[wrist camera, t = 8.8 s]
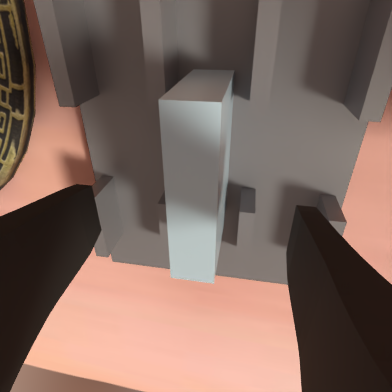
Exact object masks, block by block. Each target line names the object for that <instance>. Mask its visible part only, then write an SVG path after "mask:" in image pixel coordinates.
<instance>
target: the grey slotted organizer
mask: <svg viewBox="0 0 392 392" xmlns="http://www.w3.org/2000/svg"><path fill="white" fill-rule="evenodd" d="M33 1H34V5H35V9H36V13H37V17H38V21H39V25H40V29H41V33H42V37H43V41H44V46H45V50H46V54H47V58H48V62H49V66H50V70H51V74H52V78H53V82H54V86H55V90H56V94H57V98H58V102H59V106H60V107H77V106H79V105H80V110H81V114H82V119H83V124H84V129H85V133H86V138H87V143H88V147H89V152H90V157H91V162H92V166H93V171H94V176H95V181H96V182H95V183H94V184H93V185H92V188H93V193H94V197H95V202H96V206H97V211H98V216H99V220H100V225H101V229H102V231H101V233H100V235H99V237H98V239H97V241H96V243H95V245H94V248H95V252H96V256H102V257H109V255H110V254H111V256H112V261H113V262H121V263H128V264H136V265H143V266H151V267H158V268H166V269H170V258H169V244H168V230H167V215H166V201H165V187H164V173H163V158H162V144H161V130H160V116H159V101H158V100H159V99H160V98H161V97H162V96H163V95H164V94H166V93H167V92H168V91H169V90H170V89H171V88H172V87H174V86H175V85H176V84H177V83H178V82H179V81H181V80H182V79H183V78H184V77H185V76H186V75H188V74H189V73H190V72H191V71H192V70H193V69H199V70H235V76H234V92H233V108H232V124H231V141H230V157H229V173H228V189H227V206H226V214H225V220H224V226H223V232H222V238H221V244H220V250H219V257H218V263H217V269H216V275H218V276H226V277H233V278H241V279H249V280H256V281H264V282H271V283H279V284H286V285H288V281H287V263H286V251H287V246H288V241H289V237H290V232H291V227H292V222H293V218H294V213H295V208H296V205H301V206H312V207H316V208H317V209H318V210H319V211H320V212H321V213H322V214H323V216H324V217H325V218H326V219H327V220H328V221H329V222H330V224H331V225H332V226H333V227H334V228H335V229H336V230H337V232H338V233H339V234H340V235H341V236H342V235H343V232H344V229H345V226H346V223H347V222H346V220H345V217H344V215H343V213H342V210H341V208H342V205H343V201H344V198H345V195H346V192H347V189H348V185H349V182H350V179H351V176H352V173H353V169H354V166H355V163H356V160H357V157H358V153H359V150H360V147H361V144H362V141H363V137H364V134H365V131H366V128H367V125H368V121H372V122H381V119H382V116H383V113H384V110H385V107H386V104H387V101H388V98H389V95H390V92H391V89H392V0H33Z"/></svg>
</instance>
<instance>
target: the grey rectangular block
mask: <svg viewBox="0 0 392 392" xmlns="http://www.w3.org/2000/svg"><path fill="white" fill-rule="evenodd" d="M234 76H235V70H199V69H193V70H192V71H191V72H190V73H189V74H188V75H186V76H185V77H184V78H183V79H182V80H181V81H179V82H178V83H177V84H176V85H175V86H174V87H172V88H171V89H170V90H169V91H168V92H167V93H166V94H164V95H163V96H162V97H161V98H160V99H159V100H158V101H159V116H160V130H161V144H162V158H163V173H164V187H165V201H166V215H167V230H168V244H169V258H170V273H171V278H177V279H184V280H192V281H199V282H206V283H213V284H214V281H215V275H216V269H217V263H218V257H219V250H220V244H221V238H222V232H223V226H224V220H225V214H226V206H227V189H228V173H229V157H230V141H231V124H232V108H233V92H234Z"/></svg>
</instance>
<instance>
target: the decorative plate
mask: <svg viewBox="0 0 392 392" xmlns="http://www.w3.org/2000/svg"><path fill="white" fill-rule="evenodd" d="M34 117H35V61H34V55H33V49H32V44H31V38H30V32H29V26H28V21H27V15H26V9H25V3H24V0H0V190H1V189H2V188H3V187H4V186H5V185H6V184H7V183H8V182H9V181H10V180H11V179H12V178H13V177H14V175H15V173H16V171H17V169H18V167H19V165H20V163H21V162H22V160H23V158H24V156H25V154H26V152H27V150H28V145H29V140H30V136H31V131H32V126H33V122H34Z"/></svg>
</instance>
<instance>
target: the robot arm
mask: <svg viewBox="0 0 392 392" xmlns="http://www.w3.org/2000/svg"><path fill="white" fill-rule="evenodd" d="M101 231H102V229H101V225H100V220H99V216H98V211H97V206H96V202H95V197H94V193H93V188H92V186H89V185H79V184H76V185H73V186H70V187H67V188H65V189H62V190H60V191H58V192H55V193H53V194H51V195H48V196H46V197H44V198H42V199H39V200H37V201H35V202H33V203H31V204H28V205H26V206H24V207H22V208H19V209H17V210H15V211H12V212H10V213H7V214H5V215H3V216H0V392H10V390H11V388H12V386H13V384H14V382H15V379H16V377H17V375H18V373H19V371H20V369H21V367H22V365H23V363H24V361H25V359H26V357H27V355H28V353H29V351H30V349H31V347H32V345H33V343H34V341H35V340H36V338H37V336H38V334H39V332H40V330H41V329H42V327H43V325H44V323H45V321H46V319H47V318H48V316H49V314H50V313H51V311H52V309H53V308H54V306H55V305H56V303H57V302H58V300H59V299H60V297H61V296H62V294H63V293H64V291H65V290H66V288H67V287H68V286H69V284H70V283H71V281H72V280H73V278H74V277H75V275H76V274H77V273H78V271H79V270H80V268H81V267H82V265H83V264H84V262H85V261H86V259H87V258H88V256H89V255H90V253H91V251H92V249H93V247H94V245H95V243H96V241H97V239H98V237H99V235H100V233H101ZM286 263H287V281H288V288H289V294H290V300H291V306H292V312H293V318H294V324H295V330H296V336H297V342H298V349H299V357H300V371H301V386H302V392H392V284H390V283H389V282H388V281H387V280H386V279H385V278H384V277H382V276H381V275H380V274H379V273H378V272H377V271H376V270H375V269H374V268H373V267H372V266H371V265H370V264H368V263H367V262H366V261H365V260H364V259H363V258H362V257H361V256H360V255H359V254H358V253H357V252H356V251H355V250H354V249H353V248H352V247H351V246H350V245H349V244H348V242H347V241H346V240H345V239H344V238H343V237H342V236H341V235H340V234H339V233H338V232H337V230H336V229H335V228H334V227H333V226H332V225H331V224H330V222H329V221H328V220H327V219H326V218H325V217H324V216H323V214H322V213H321V212H320V211H319V210H318V209H317V208H316V207H312V206H301V205H296V208H295V213H294V218H293V222H292V227H291V232H290V237H289V241H288V246H287V251H286Z"/></svg>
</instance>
